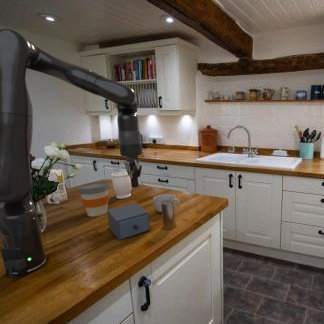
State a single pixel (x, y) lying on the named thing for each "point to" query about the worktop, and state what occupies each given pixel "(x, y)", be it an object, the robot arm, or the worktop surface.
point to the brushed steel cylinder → (168, 214)
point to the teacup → (164, 197)
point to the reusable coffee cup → (95, 198)
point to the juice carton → (60, 193)
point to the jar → (121, 184)
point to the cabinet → (124, 217)
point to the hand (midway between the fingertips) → (135, 187)
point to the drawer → (133, 226)
